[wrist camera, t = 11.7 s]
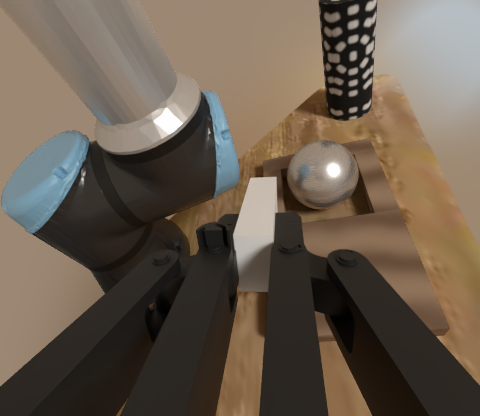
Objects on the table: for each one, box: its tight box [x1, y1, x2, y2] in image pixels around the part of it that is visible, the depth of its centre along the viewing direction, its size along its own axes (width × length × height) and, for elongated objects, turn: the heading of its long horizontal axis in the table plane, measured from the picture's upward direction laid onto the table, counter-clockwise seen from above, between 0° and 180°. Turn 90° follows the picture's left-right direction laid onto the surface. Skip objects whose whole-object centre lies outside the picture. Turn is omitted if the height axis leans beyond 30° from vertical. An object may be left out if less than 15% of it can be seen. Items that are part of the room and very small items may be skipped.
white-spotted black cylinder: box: [319, 0, 377, 120], centre depth 49 cm, size 8×8×20 cm
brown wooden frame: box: [263, 138, 450, 342], centre depth 40 cm, size 30×18×2 cm, turn 178°
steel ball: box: [287, 140, 359, 209], centre depth 41 cm, size 10×10×10 cm
